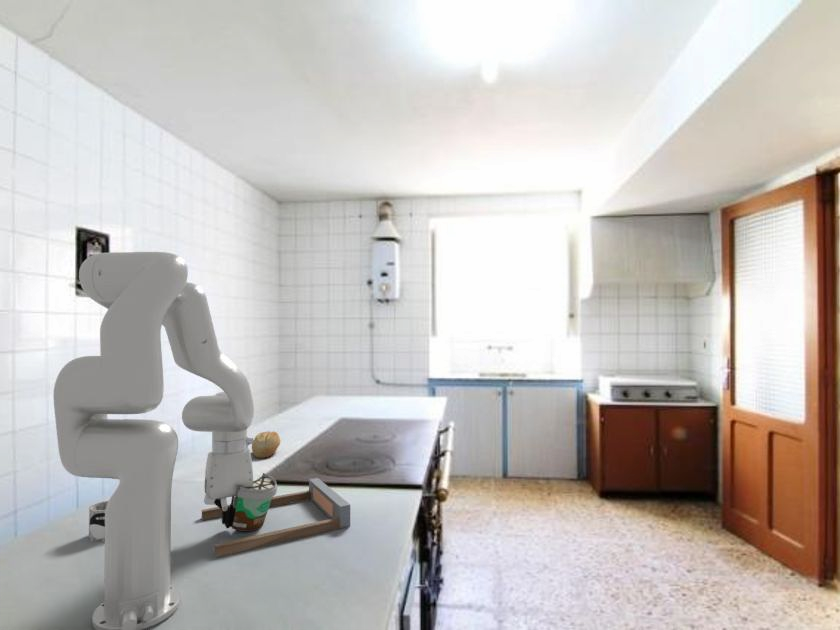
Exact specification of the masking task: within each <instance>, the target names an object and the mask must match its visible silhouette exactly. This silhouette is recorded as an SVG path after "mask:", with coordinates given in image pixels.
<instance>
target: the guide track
mask: <svg viewBox="0 0 840 630" xmlns="http://www.w3.org/2000/svg"><path fill="white" fill-rule="evenodd" d="M308 500H309V501H311V492H310V491H309V489H308V490H303V491H297V492H293V493H292V492H291V493H286V494H281V495H274V496H273V497H272V499H271V502H270V505H269V508H272V507H277V506H283V505H289V504H294V503H298V502H304V501H305V502H306V501H308ZM227 505H228V507H229V506H230V504H227ZM220 517H221V518H222V509H220V508H219V507H218V506H215V507H211V508H204V509H201V520H202V521H204V520H205V521H206V520H210V519H216V518H220ZM338 529H341V528H340V519H339V518H338V517H337V518H333V519H330V518H329V519H328V518H327V519H325V520H319V521H315V522H311V523H307V524H301V525H296V526H292V527H288V528H284V529H278V530H274V531H269V532H265V533H259V534H256V535H251V536H246V537H242V538H238V539H233V540H229V541H224V542H223V541H222V542H220V543H215V544H214V555H215V557H216V558H217V557H223V556H225V555H229V554H236V553H239V552H244V551H248V550H251V549H257V548H261V547H265V546H269V545H273V544H278V543H282V542H288V541H290V540H296V539H299V538H303V537H308V536H313V535H317V534H321V533H325V532H330V531H333V530H334V531H335V530H338Z"/></svg>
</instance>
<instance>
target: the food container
mask: <svg viewBox="0 0 840 630" xmlns="http://www.w3.org/2000/svg"><path fill="white" fill-rule="evenodd" d="M277 487H278V484H277V481H276V479H275V478H274V477H273V476H272V475H269V474H268V473H264V472H262V475H261V477H260V478H258V479H256V480H253V487H246V488H242V487H240V490H239V493H238V496H237V497H238V502H237V506H236V511H235V516H234V521H233V526H232V527H231V529H233V530H235V531H242V532H247V531H249V532H250V531H251V532H252V531H257V530H259V529H261V528H262V527H263V526H264V524H265V520H266V517H267V514H268V511H269V509H270V507H269V505H270V502H271V499H272V497H275V496H276V495H277V492H278V490H277V489H278V488H277Z"/></svg>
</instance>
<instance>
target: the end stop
mask: <svg viewBox="0 0 840 630" xmlns="http://www.w3.org/2000/svg"><path fill="white" fill-rule="evenodd" d="M308 490H309V491H310V492H311V499H310V501H312V502H313V503H314V505H316V506H317V507H318V508H319V509H320V510H321V511H322V512H323V513H324V515H326V516H327V517H328V518H329V519H333V518H337V517H338V518H339V519H340V528H339V529H343V528H347V527H350V526H351V504H350V503H349V502H348V501H347V500H346V499H344V498H343V497H342V496H340V495H339V494H338V493H337V492H336V491H334V490H333V489H332V488H331V487H330V486H328V485H327V483H326V482H323V481H322V480H321V479H320V478H319V477H315V478H308Z"/></svg>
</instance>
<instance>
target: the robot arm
mask: <svg viewBox="0 0 840 630" xmlns="http://www.w3.org/2000/svg"><path fill="white" fill-rule="evenodd" d="M79 267H80V268H79V271H78V280H79V283H80V286H81V289H82V290H83V292H84V293H85V294H86V295H87V297H89V298H90V299H91V300H92V301H93V302H95V303H97V304H98V305H100V306H102V307H103V308H105V309H107V310H106V312H105V314H104V315H103V318H102V321H101V324H100V328H99V343H100V344H99V346H100V355H86V356H80V357H76V358H74V359H72V360H71V361H68V362H67V363H66V364H64V366H63V367H62V368H61V370H60V371H59V373H58V374H57V376H56V379H55V382H54V387H53V409H54V419H55V428H56V436H57V437H56V439H57V445H58V446H57V447H58V453H59V454H58V455H59V459H60V462H61V465H62V467H63V468H64V469H65V470H66V472H67V473H69V474H70V475H72V476H74V477H79V478H89V479H90V478H92V479H111V480H112V479H113V480H118V481H119V484H118V486H117V487H116V489H115V490H114V492H113V493H112V495H111V497H110V498H109V499H108V500H107V501H108V503H107V506H106V510H105V541H104V566H103V567H104V572H103V573H104V579H103V581H104V582H103V584H104V585H103V587H104V588H103V591H104V592H103V594H104V595H103V602H102V603H100V605H98V607H96V608H95V610H94V611H93V614H92V618H91V620H92V621H91V622H92V627H93V628H94V630H146V629H148V628H151V627H153V626H155V625H157V624H159V623H161V622H163V621H165V620H166V619H168V618H169V617H170V616H171V615H173V613H175V612H176V611H177V609H178V608H179V606H180V603H181V592H180V591H179V589H178V588H176V587H174V586H173V585H171V561H172V560H171V547H172V545H171V544H172V543H171V540H172V539H171V537H172V534H171V533H172V528H171V527H172V487H173V477H174V471H175V465H176V461H177V456H178V450H179V437H178V434H177V432H176V430H175V429H174V428H173V426H171V425H170V424H169V423H165V422H164V421H163V422H162V421H159V420H155V419H154V420H153V419H138V418H137V419H135V418H134V419H133V418H131V419H130V418H129V419H128V418H127V419H126V418H124V419H122V418H121V419H120V418H119V419H116V418H115V419H114V418H113V419H112V418H108V415H139V414H140V415H141V414H146V413H150V412H152V411H153V410H155V409H157V408H158V406H160V405H161V403H162V401H163V398H164V387H165V385H164V369H163V367H164V366H163V355H162V343H161V342H162V341H161V340H162V339H161V338H162V337H161V332H162V331H161V329H162V326H163V327H164V330H165V333H166V336H167V339H168V343H169V346H170V350H171V354H172V357H173V361H174V362H175V365H176V366H178V367H179V368H181V369H182V370H184V371H187V372H189V373H191V374H192V375H195V376H197V377H200V378H202V379H205V380H207V381H209V382H211V383H212V384H214V385H216V386H217V387H219V388H220V389H221V390H222V391H220V392H217V393H216V394H214V395H199V396H195V397H194V398H192V399H190V400H188V402H186V404H185V405H184V407H183V408H182V412H181V420H182V423H183V425H184V426H185V427H186V428H187V429H189V430H190V431H192V432H193V431H195V432H200V433H201V432H208V433H209V432H210V433H211V451H210V452H208V454H207V457H206V463H205V464H206V465H205V470H204V471H205V472H204V473H205V474H204V493H205V494H204V495H205V496H204V499H203V503H204V504H205V505H209V506H215V507H219V508H220V509H222V517H221V523H222V525H224V526H225V528H226V529H230V528H232V526H233V521H234V516H235V511H236V506H237V502H238V497H237V496H238V493H239V490H240V487H242V488H246V487H253V481H254V470H253V460H252V455H251V450H250V448H249V445H252V444H253V440H254V438H253V437H248V429H249V428H250V426H251V425H252V423H253V421H254V417H255V408H254V399H253V396H252V390H251V385H250V383H249V381H248V378H247V377H246V376H245V374H244V373H243V372H242V371H241V369H240V368H239V367H238V366H237V365H236V363H234V362H233V361H232V360H231V359H230V358H229V357H228V356H226V355H225V353H223V352H222V351H221V349H220V348H219V344H218V339H217V336H216V331H215V327H214V323H213V319H212V315H211V310H210V306H209V301H208V299H207V295H206V292H205V291H204V289H203V288H202V287H201V286H200V285H198V284H195V283H192V282H189V281H188V276H189V275H188V274H189V270H188V265H187V263H186V261H185V259H183V258H182V257H181V256H179V255H178V254H175V253H169V252H166V251H127V252H123V251H122V252H121V251H119V252H118V251H117V252H99V253H95V254H92V255H90V256H88V257H87V258H86V259H85V260H83V262H82V263H81V265H80V266H79ZM187 281H188V282H187ZM227 498H231V501H230V504H228V501H227ZM228 505H230V506H229V507H228Z"/></svg>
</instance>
